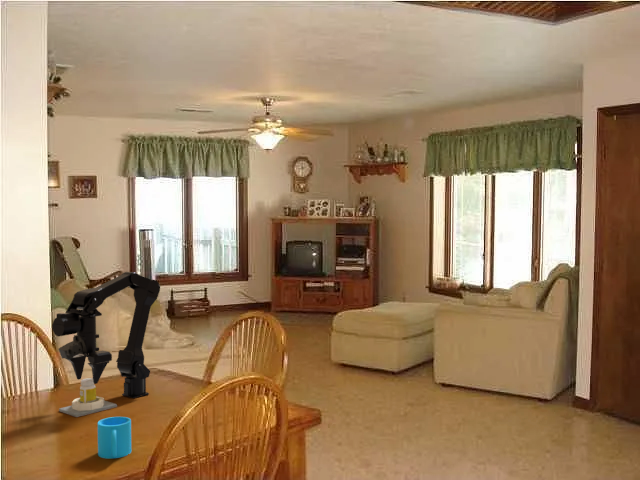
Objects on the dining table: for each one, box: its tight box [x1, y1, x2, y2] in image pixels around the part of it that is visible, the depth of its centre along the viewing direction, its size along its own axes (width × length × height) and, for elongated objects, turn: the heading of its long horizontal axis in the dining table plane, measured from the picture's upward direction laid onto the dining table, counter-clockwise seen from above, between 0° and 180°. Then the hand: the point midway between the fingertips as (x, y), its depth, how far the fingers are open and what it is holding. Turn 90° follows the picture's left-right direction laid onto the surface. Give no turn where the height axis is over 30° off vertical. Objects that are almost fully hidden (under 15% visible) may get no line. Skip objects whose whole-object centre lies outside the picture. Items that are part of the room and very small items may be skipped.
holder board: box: [58, 395, 118, 418], centre depth 214 cm, size 14×10×3 cm
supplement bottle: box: [79, 377, 97, 403], centre depth 214 cm, size 5×5×8 cm
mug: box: [97, 416, 132, 459], centre depth 173 cm, size 12×8×8 cm
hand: (87, 381), depth 213 cm, fingers open, 9 cm apart
